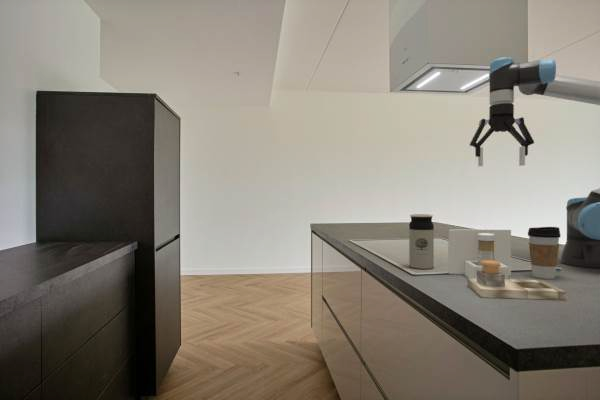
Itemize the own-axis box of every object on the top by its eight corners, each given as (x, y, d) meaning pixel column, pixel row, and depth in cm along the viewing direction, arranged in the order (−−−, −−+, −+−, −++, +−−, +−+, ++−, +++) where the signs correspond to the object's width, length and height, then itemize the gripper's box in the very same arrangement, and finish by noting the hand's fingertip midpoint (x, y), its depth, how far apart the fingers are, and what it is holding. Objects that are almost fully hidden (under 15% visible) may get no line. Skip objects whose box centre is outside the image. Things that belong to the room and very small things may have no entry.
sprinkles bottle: (496, 278, 115) (496, 233, 114) (491, 281, 111) (491, 234, 111) (480, 276, 118) (480, 232, 118) (475, 278, 115) (475, 233, 114)
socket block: (541, 287, 104) (542, 269, 104) (565, 300, 92) (565, 279, 92) (467, 285, 107) (467, 267, 107) (481, 297, 95) (481, 277, 95)
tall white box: (508, 274, 120) (509, 229, 120) (525, 283, 109) (525, 233, 108) (448, 272, 123) (448, 229, 123) (458, 281, 111) (458, 233, 111)
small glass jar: (496, 279, 102) (496, 260, 102) (502, 283, 98) (502, 263, 98) (478, 278, 103) (478, 259, 103) (484, 282, 98) (484, 263, 98)
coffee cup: (565, 280, 112) (566, 228, 111) (533, 279, 114) (533, 228, 113) (552, 274, 120) (553, 226, 120) (523, 273, 122) (523, 225, 121)
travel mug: (412, 264, 138) (412, 214, 138) (435, 266, 134) (435, 214, 134) (406, 268, 131) (406, 215, 131) (430, 270, 127) (430, 215, 127)
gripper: (535, 105, 136) (534, 165, 137) (460, 108, 140) (460, 167, 140) (545, 100, 129) (545, 164, 129) (466, 103, 132) (466, 165, 133)
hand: (501, 165), depth 135 cm, fingers open, 13 cm apart
